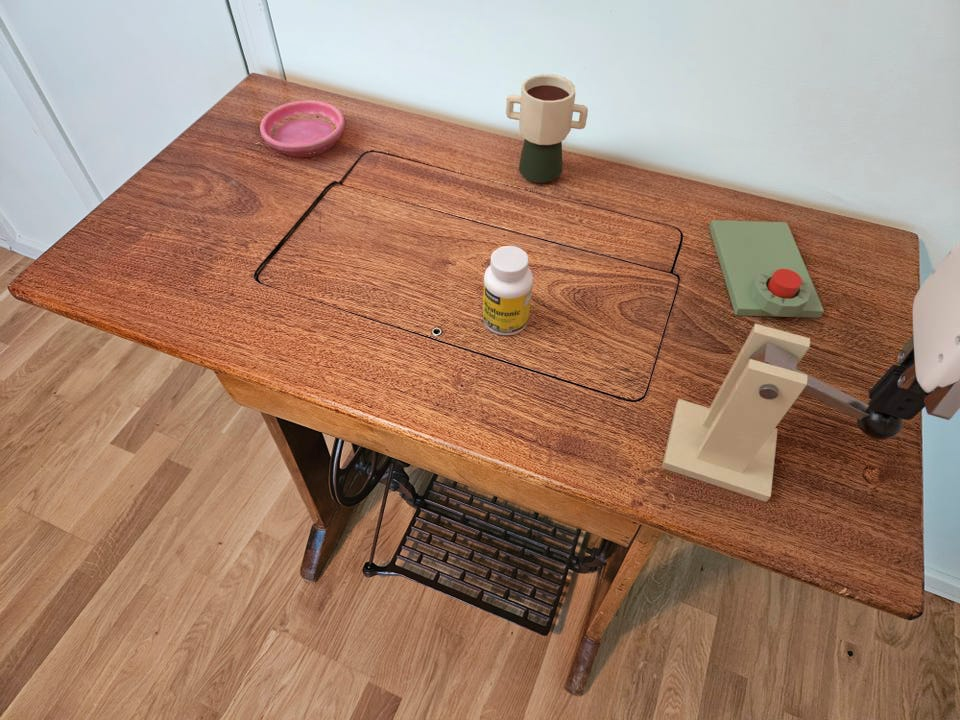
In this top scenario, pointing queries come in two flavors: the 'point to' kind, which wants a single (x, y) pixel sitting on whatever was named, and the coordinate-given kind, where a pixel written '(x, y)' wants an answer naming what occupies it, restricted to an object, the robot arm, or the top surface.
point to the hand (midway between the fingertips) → (888, 406)
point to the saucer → (303, 128)
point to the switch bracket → (738, 420)
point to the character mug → (545, 124)
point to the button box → (762, 268)
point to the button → (784, 283)
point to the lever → (834, 396)
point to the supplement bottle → (507, 291)
